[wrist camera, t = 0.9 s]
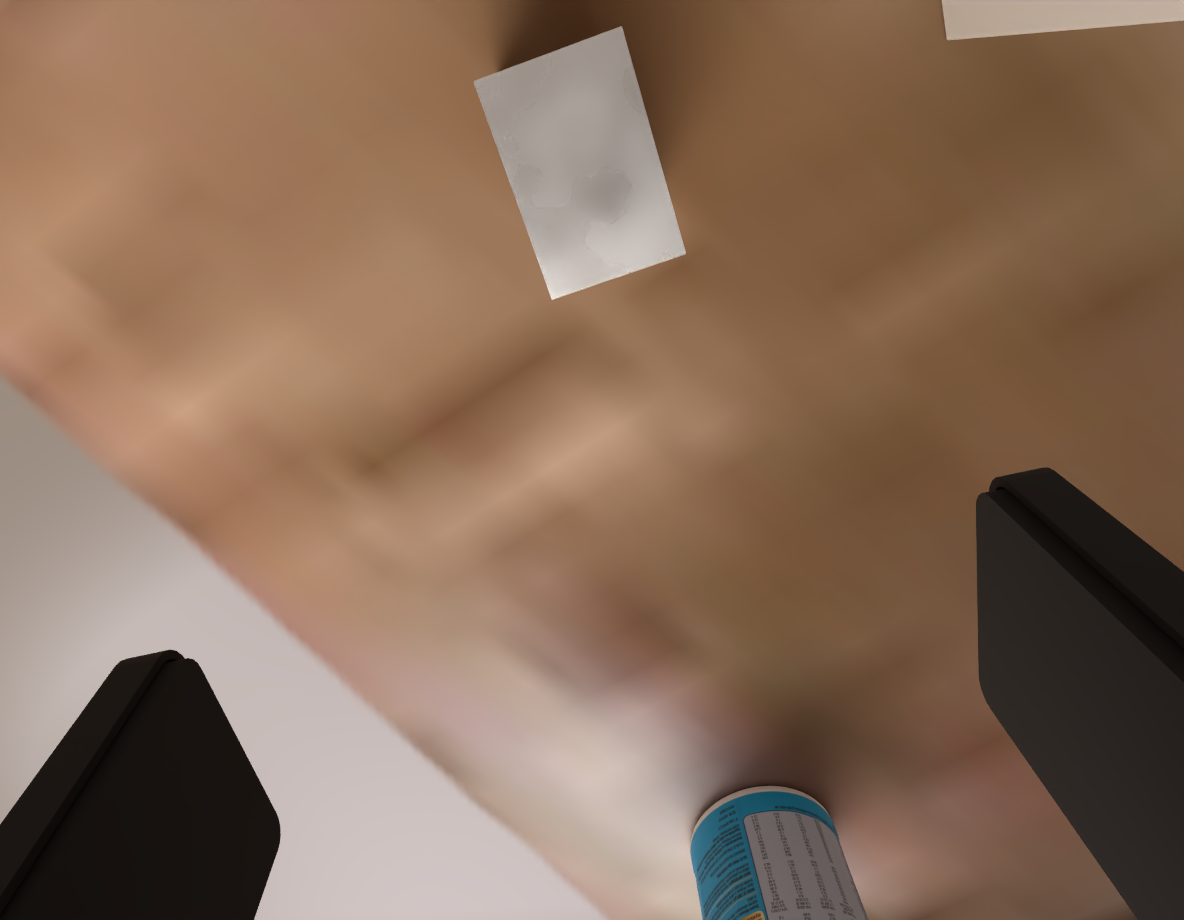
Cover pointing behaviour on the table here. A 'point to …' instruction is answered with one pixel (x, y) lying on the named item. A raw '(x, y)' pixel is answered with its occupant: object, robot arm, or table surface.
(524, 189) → the white rectangular block
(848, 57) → the table surface
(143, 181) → the table surface
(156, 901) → the robot arm
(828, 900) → the beverage bottle
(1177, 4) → the white box with slot
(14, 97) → the table surface
